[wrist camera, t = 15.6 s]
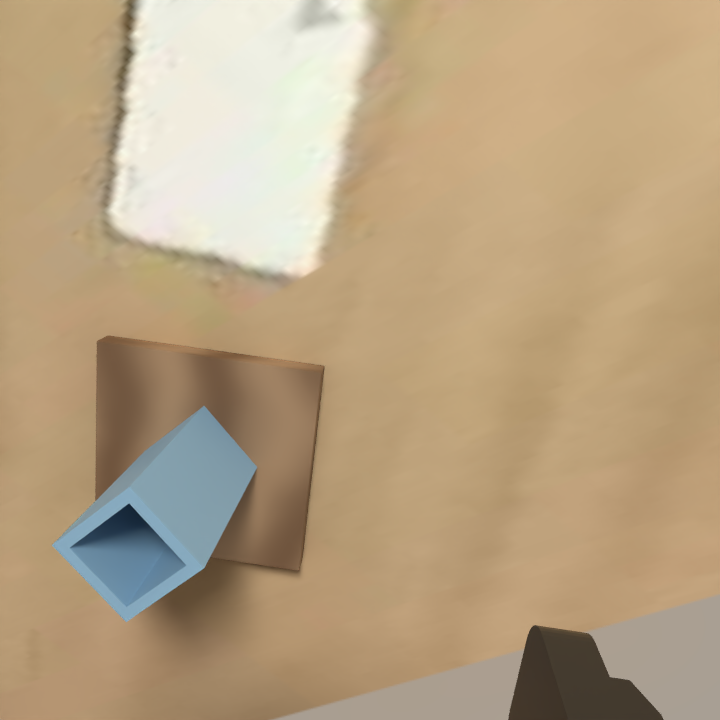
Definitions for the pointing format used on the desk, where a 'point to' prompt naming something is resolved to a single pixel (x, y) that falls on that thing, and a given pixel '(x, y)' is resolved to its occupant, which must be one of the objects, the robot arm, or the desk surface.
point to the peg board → (234, 413)
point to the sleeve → (160, 516)
